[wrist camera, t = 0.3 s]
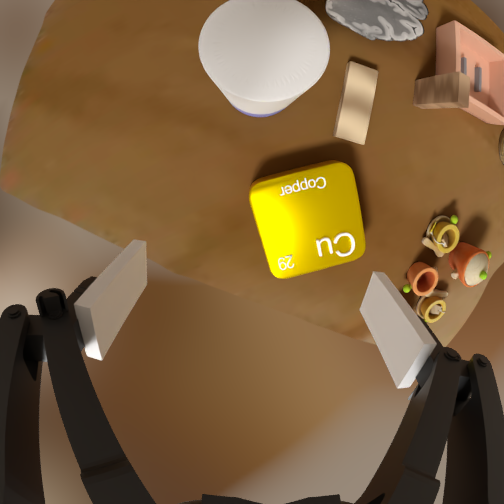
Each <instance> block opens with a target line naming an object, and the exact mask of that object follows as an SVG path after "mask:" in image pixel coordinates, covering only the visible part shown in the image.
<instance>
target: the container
mask: <svg viewBox="0 0 504 504" xmlns="http://www.w3.org/2000/svg"><path fill="white" fill-rule="evenodd" d="M199 55H200V59H201V62H202V65H203V67H204V69H205V71H206V72H207V74H208V75H209V76H210V78H211V79H212V80H213V81H214V83H215V84H216V85H217V86H218V88H219V89H220V90H221V91H222V93H223V94H224V95H225V96H226V98H227V99H228V100H229V101H230V103H231V104H232V105H233V106H234V107H235V108H236V109H237V110H239V111H240V112H242V113H244V114H246V115H249V116H254V117H267V116H271V115H274V114H277V113H279V112H280V111H282V110H283V109H284V108H286V107H287V106H288V105H289V104H290V103H292V102H293V101H294V100H295V99H297V98H298V97H299V96H300V95H302V94H303V93H304V92H305V91H307V90H308V89H309V88H310V87H311V86H313V85H314V84H315V83H316V82H317V81H318V80H319V78H320V77H321V76H322V74H323V72H324V71H325V69H326V66H327V64H328V60H329V55H330V44H329V38H328V35H327V32H326V30H325V27H324V26H323V24H322V22H321V21H320V19H319V18H318V17H317V16H316V15H315V14H314V13H313V12H312V11H311V10H310V9H309V8H308V7H306V6H305V5H303V4H302V3H300V2H298V1H296V0H229V1H228V2H226V3H224V4H223V5H221V6H220V7H218V8H217V9H216V10H215V11H214V12H213V13H212V14H211V15H210V16H209V18H208V19H207V21H206V22H205V24H204V26H203V28H202V30H201V33H200V38H199Z"/></svg>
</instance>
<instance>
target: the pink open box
mask: <svg viewBox="0 0 504 504" xmlns="http://www.w3.org/2000/svg"><path fill="white" fill-rule="evenodd" d="M459 71H460V72H462V73H463V74H465V75H467V76H468V77H470V92H469V107H468V108H461V109H463V110H464V111H466V112H468V113H470V114H472V115H473V116H475V117H477V118H479V119H480V120H482V121H484V122H486V123H489V124H498V125H504V54H503V53H501V52H500V51H499V50H498V49H496V48H495V47H494V46H492V45H491V44H490V43H488V42H487V41H486V40H484V39H483V38H481V37H480V36H478V35H477V34H476V33H474V32H473V31H471V30H470V29H468V28H466V27H465V26H463V25H462V24H460V23H459V22H457V21H455V20H454V21H452V22H449V23H447V24H444V25H442V26H440V27H437V28H436V72H435V76H437V75H442V74H447V73H453V72H459Z"/></svg>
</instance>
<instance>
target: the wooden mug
mask: <svg viewBox="0 0 504 504" xmlns="http://www.w3.org/2000/svg"><path fill="white" fill-rule="evenodd" d="M499 154H500V158H501V161H502V163H503V165H504V130H503V131H502V133H501V135H500V140H499Z"/></svg>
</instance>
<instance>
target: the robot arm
mask: <svg viewBox="0 0 504 504" xmlns="http://www.w3.org/2000/svg"><path fill="white" fill-rule="evenodd" d="M146 266H147V264H146V241H140V240H133V241H132V242H131V243H130V244H129V245H128V246H127V247H126V248H125V249H124V250H123V251H122V252H121V253H120V254H119V255H118V256H117V257H116V258H115V259H114V260H113V262H112V263H111V264H110V265H109V266H108V267H107V268H106V269H105V270H104V271H103V272H102V273H101V274H100V275H99V277H90V278H88V279H86V280H84V281H83V282H82V283H81V284H80V285H79V286H78V288H76V289H75V290H74V292H72V294H71V295H70V296H69V297H68V298H67V299H66V296H65V293H64V291H62V290H61V289H56V288H52V289H47V290H44V291H42V292H40V293H39V294H38V296H37V297H36V303H37V307H38V310H39V314H40V315H28V312H27V309H26V308H25V306H23V305H19V304H16V305H11V306H9V307H7V308H6V309H5V310H4V311H3V313H2V315H1V318H0V504H45V498H44V491H43V484H42V475H41V465H40V448H39V399H40V385H41V373H42V363H43V362H48V367H49V371H50V376H51V380H52V385H53V389H54V393H55V397H56V400H57V404H58V407H59V411H60V414H61V417H62V420H63V424H64V427H65V429H66V432H67V435H68V438H69V441H70V444H71V446H72V449H73V452H74V454H75V457H76V459H77V462H78V464H79V467H80V469H81V474H80V475H81V479H82V482H83V484H84V486H85V488H86V490H87V493H88V495H89V497H90V499H91V501H92V503H93V504H156V503H155V501H154V500H153V499H152V497H151V496H150V494H149V493H148V491H147V490H146V488H145V487H144V485H143V484H142V482H141V480H140V479H139V477H138V475H137V474H136V472H135V470H134V469H133V467H132V465H131V464H130V462H129V461H128V459H127V457H126V455H125V454H124V452H123V450H122V448H121V446H120V444H119V442H118V440H117V438H116V437H115V434H114V433H113V431H112V429H111V426H110V424H109V422H108V420H107V418H106V416H105V413H104V411H103V409H102V407H101V404H100V402H99V400H98V398H97V395H96V392H95V390H94V387H93V385H92V382H91V380H90V377H89V375H88V372H87V369H86V366H85V363H84V360H83V357H82V354H81V351H82V349H83V348H84V347H85V350H86V353H87V356H89V357H92V358H96V359H99V360H102V359H103V358H104V356H105V354H106V352H107V351H108V349H109V347H110V345H111V344H112V342H113V340H114V338H115V337H116V335H117V333H118V331H119V330H120V328H121V326H122V324H123V323H124V321H125V319H126V318H127V316H128V314H129V313H130V311H131V309H132V308H133V306H134V304H135V303H136V301H137V299H138V298H139V296H140V295H141V293H142V291H143V290H144V288H145V287H146V285H147V267H146ZM360 312H361V314H362V316H363V318H364V320H365V322H366V324H367V326H368V328H369V330H370V332H371V334H372V336H373V338H374V340H375V342H376V344H377V346H378V348H379V350H380V352H381V354H382V356H383V359H384V361H385V362H386V365H387V367H388V369H389V371H390V374H391V376H392V378H393V380H394V382H395V385H396V387H397V388H406V387H410V386H411V384H412V383H413V381H414V380H415V378H416V379H417V382H418V385H417V387H416V388H415V390H414V391H413V392H412V394H411V395H410V396H409V398H408V400H410V399H411V400H410V403H409V405H408V408H407V410H406V413H405V415H404V417H403V419H402V422H401V424H400V426H399V428H398V431H397V433H396V435H395V437H394V439H393V441H392V443H391V445H390V447H389V449H388V451H387V453H386V455H385V457H384V459H383V461H382V462H381V464H380V466H379V468H378V470H377V471H376V473H375V475H374V477H373V478H372V480H371V482H370V483H369V485H368V487H367V488H366V490H365V491H364V493H363V494H362V496H361V497H360V498H359V499H358V500H357V501H356V502H355V503H354V504H433V503H434V501H435V498H436V496H437V493H438V491H439V487H440V481H439V480H437V479H435V476H436V473H437V470H438V467H439V464H440V461H441V458H442V454H443V451H444V448H445V444H446V441H447V465H446V477H445V487H444V496H443V504H504V415H503V410H502V405H501V401H500V396H499V392H498V387H497V384H496V380H495V376H494V372H493V369H492V366H491V363H490V361H489V360H488V359H487V357H485V356H484V355H481V354H474V355H473V357H472V358H471V360H470V361H465V360H461V357H460V355H459V354H458V353H457V352H456V351H455V350H453V349H452V348H449V347H443V346H442V344H441V343H440V341H439V340H438V339H437V337H436V336H435V334H434V333H432V330H431V329H430V328H429V326H428V325H427V323H426V322H425V321H424V320H423V319H422V318H421V317H419V316H418V315H416V314H415V312H414V311H413V310H412V308H411V307H410V305H409V304H408V303H407V301H406V300H405V299H404V298H403V296H402V295H401V294H400V292H399V291H398V290H397V288H396V287H395V286H394V285H393V283H392V282H391V281H390V280H389V278H388V277H387V276H386V274H385V273H382V272H374V271H373V274H372V277H371V280H370V283H369V286H368V288H367V291H366V294H365V297H364V299H363V302H362V305H361V307H360ZM470 397H471V398H470ZM179 504H261V503H257V502H252V501H249V500H244V499H241V498H236V497H225V496H214V495H206V494H202V500H193V501H188V502H183V503H179ZM286 504H353V503H349V502H344V501H340V495H339V494H338V495H329V496H321V497H308V498H305V499H302V500H298V501H294V502H290V503H286Z"/></svg>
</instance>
